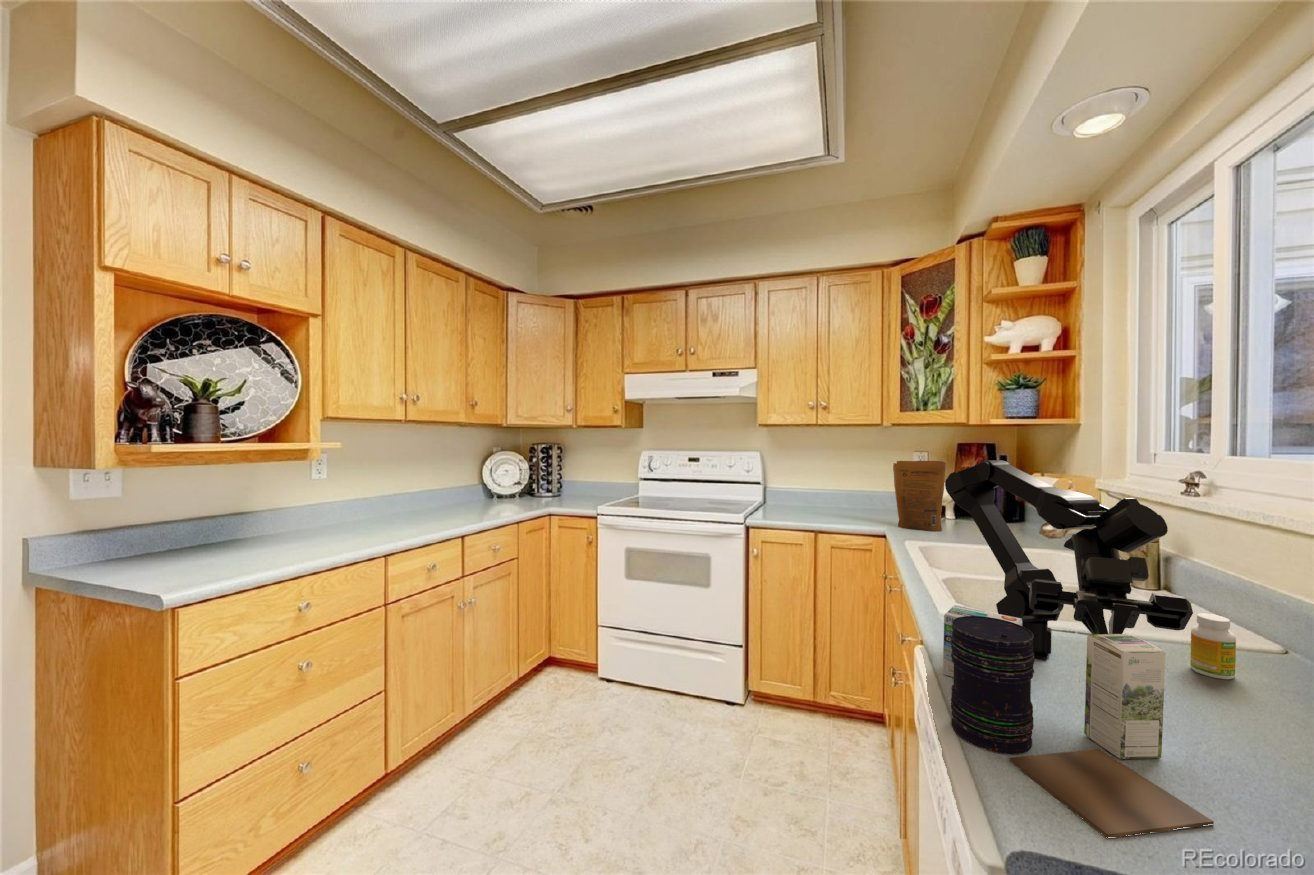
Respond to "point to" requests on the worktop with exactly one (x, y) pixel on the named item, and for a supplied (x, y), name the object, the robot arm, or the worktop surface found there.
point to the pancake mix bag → (919, 493)
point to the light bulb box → (948, 618)
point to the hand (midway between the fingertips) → (1112, 657)
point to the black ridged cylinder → (992, 684)
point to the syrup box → (1125, 695)
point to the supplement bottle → (1213, 647)
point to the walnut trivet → (1108, 793)
